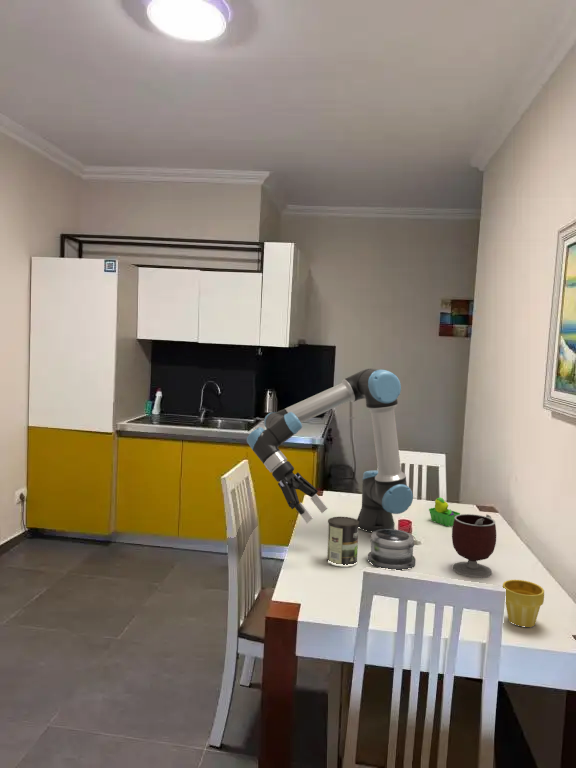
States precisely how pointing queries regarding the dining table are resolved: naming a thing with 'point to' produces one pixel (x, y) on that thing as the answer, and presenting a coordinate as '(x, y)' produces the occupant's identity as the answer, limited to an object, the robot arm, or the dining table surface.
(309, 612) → the dining table surface
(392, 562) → the cylinder
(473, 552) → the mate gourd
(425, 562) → the dining table surface
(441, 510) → the fruit basket
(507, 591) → the plant pot
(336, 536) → the coffee can
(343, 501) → the dining table surface
